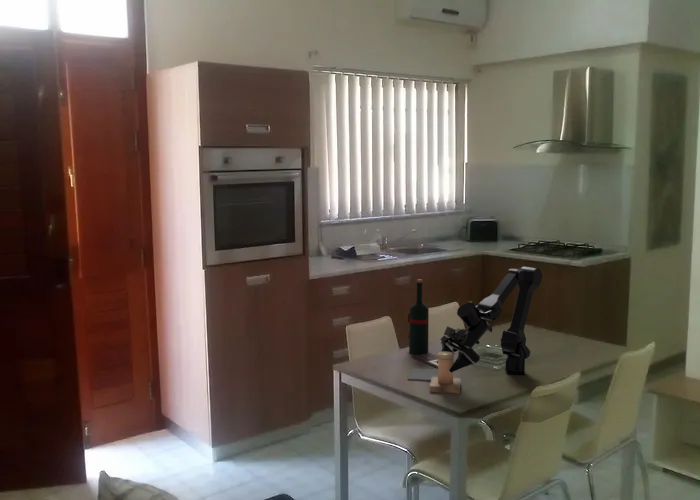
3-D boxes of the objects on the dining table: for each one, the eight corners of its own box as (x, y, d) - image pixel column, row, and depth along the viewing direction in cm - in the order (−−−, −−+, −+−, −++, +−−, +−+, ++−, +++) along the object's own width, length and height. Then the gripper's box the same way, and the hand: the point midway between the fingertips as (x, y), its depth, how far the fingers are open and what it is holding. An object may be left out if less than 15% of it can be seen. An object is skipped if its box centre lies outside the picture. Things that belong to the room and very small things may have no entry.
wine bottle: (416, 347, 280) (417, 276, 276) (432, 353, 272) (433, 279, 268) (401, 350, 275) (402, 278, 271) (417, 356, 267) (418, 281, 263)
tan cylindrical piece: (454, 380, 232) (454, 351, 231) (453, 385, 227) (454, 356, 225) (437, 379, 233) (438, 351, 232) (436, 384, 228) (437, 355, 226)
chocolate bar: (430, 352, 270) (458, 364, 255) (429, 355, 270) (458, 366, 255) (411, 355, 266) (439, 367, 250) (411, 358, 266) (439, 370, 251)
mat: (449, 371, 248) (449, 370, 248) (447, 382, 236) (447, 380, 236) (411, 369, 250) (411, 368, 250) (407, 379, 238) (407, 378, 238)
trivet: (460, 383, 234) (460, 378, 234) (459, 393, 224) (459, 387, 224) (431, 382, 236) (431, 376, 236) (429, 391, 226) (429, 386, 226)
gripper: (446, 312, 237) (417, 345, 235) (472, 324, 220) (441, 360, 218) (465, 332, 241) (437, 365, 239) (493, 345, 223) (462, 381, 221)
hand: (443, 367), depth 229 cm, fingers open, 9 cm apart
